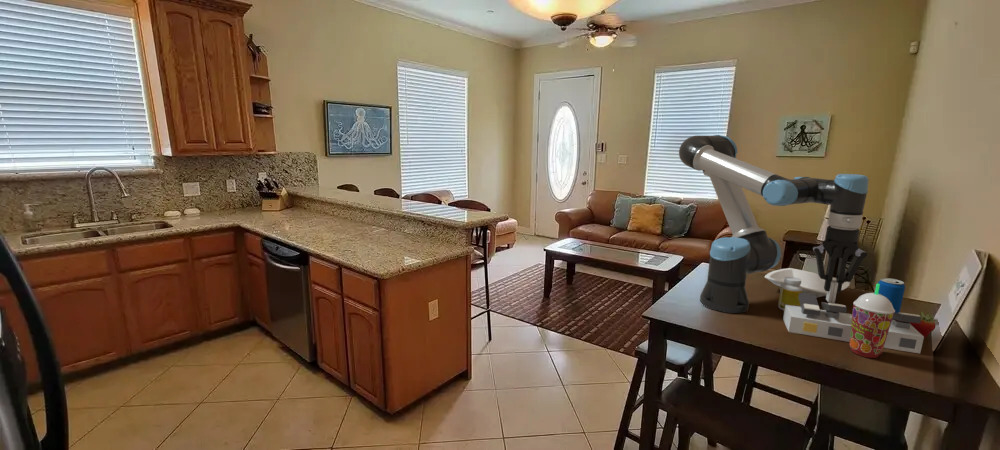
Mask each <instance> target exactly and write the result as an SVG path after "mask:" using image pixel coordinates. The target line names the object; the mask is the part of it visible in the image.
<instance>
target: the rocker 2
mask: <svg viewBox="0 0 1000 450" xmlns="http://www.w3.org/2000/svg"><path fill="white" fill-rule="evenodd" d="M847 308H848V307H847V306H846V305H845V304H841V303H840V304H839V303H829V302H823V301H821V304H820V309H822V310H827V311H832V312H839V313H847V310H848V309H847Z"/></svg>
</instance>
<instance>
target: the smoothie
mask: <svg viewBox="0 0 1000 450" xmlns="http://www.w3.org/2000/svg"><path fill="white" fill-rule="evenodd" d="M879 286H880V284H878V283H876V285H875V290H874V292H867V293H863V294H861V295H859V296H858V298H856V299H855V300H854V301H853V302H852V303H853V306H852V313H851V314H852V322H851V332H850V342H848V345H849V347H850V350H851V351H852V352H853V353H854V354H855V355H858V356H861V357H864V358H869V359H877V358H878V357H879V356H880V355H882V354H883V351H884V349H885V348H884V344H885V341H886V338H887V335H888V331H889V328H890V325H891V321H892V320H893V319H892V318H893V315H894V312H895V310H894V308H893V306H892V303H891V302H890V301H889V299H888V298H886V297H885V296H883V295H881V294H878V291H879Z"/></svg>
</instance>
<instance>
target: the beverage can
mask: <svg viewBox="0 0 1000 450" xmlns="http://www.w3.org/2000/svg"><path fill="white" fill-rule="evenodd" d="M877 284H880V286H879V291H878V294H881V295H883V296H885V297H886V298H888V299H889V301H890V302H891V303H892V306H893V308H894V310H895V313H899V312H901V308H902V307H901V306H902V304H903V298H904V293H905V289H906V286H905V282H904V281H902V280H899V279H896V278H890V277H889V278H888V277H882V278H880V280H879V281H878V283H877Z"/></svg>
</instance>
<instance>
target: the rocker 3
mask: <svg viewBox="0 0 1000 450" xmlns="http://www.w3.org/2000/svg"><path fill="white" fill-rule="evenodd" d="M920 316H921V314H917V315H916V314H914V313H907V312H901V311H900V312H899V313H895V312H894V315H893V318H892V320H898V321H905V322H909V323H910V322H913V323H921V317H920Z"/></svg>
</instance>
